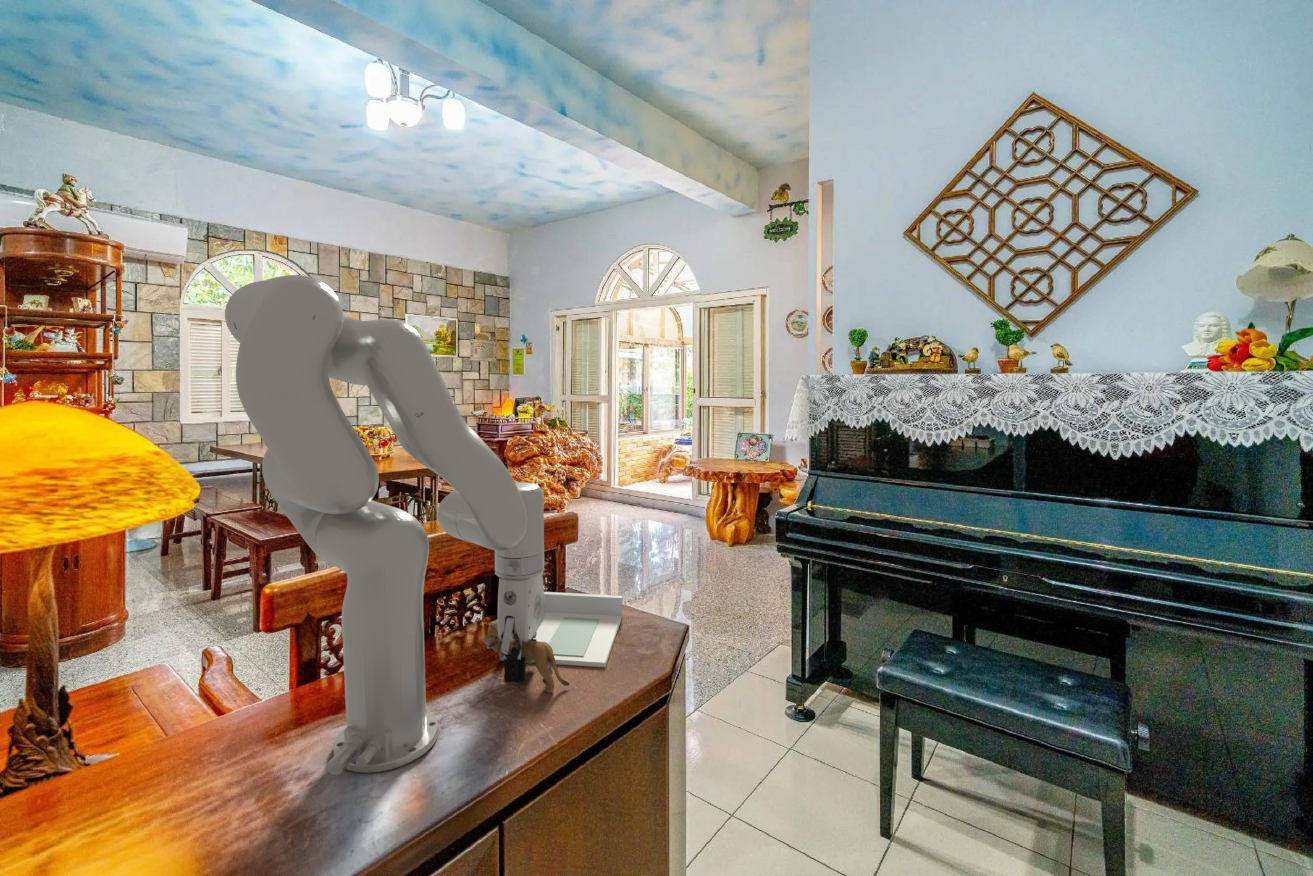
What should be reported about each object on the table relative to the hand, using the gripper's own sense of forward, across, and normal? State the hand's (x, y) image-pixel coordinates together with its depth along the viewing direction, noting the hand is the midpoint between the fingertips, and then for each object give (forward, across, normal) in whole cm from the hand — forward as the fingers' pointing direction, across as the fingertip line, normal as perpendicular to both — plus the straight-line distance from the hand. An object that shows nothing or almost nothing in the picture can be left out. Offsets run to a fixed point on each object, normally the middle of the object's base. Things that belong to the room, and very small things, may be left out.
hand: (521, 670), depth 95 cm
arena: (+1, +15, -4) cm, 15 cm away
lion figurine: (+1, -1, -1) cm, 2 cm away
